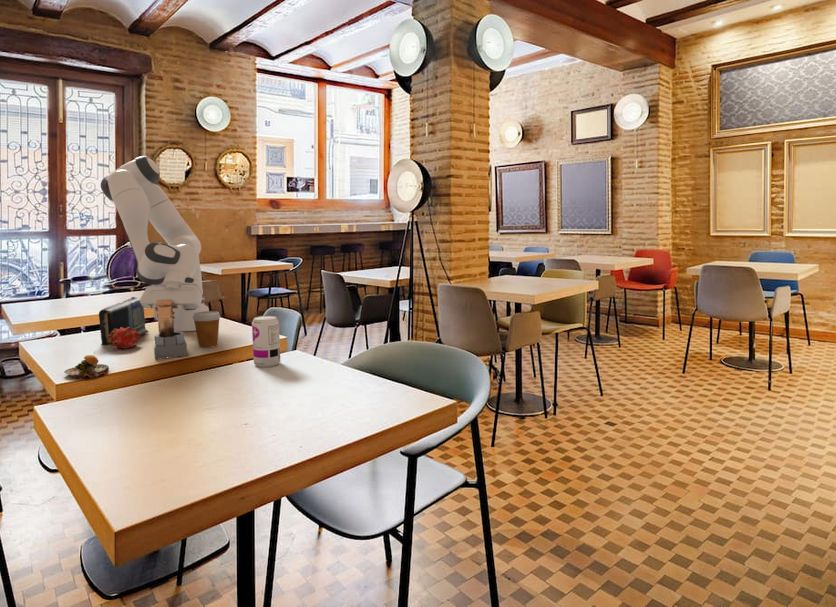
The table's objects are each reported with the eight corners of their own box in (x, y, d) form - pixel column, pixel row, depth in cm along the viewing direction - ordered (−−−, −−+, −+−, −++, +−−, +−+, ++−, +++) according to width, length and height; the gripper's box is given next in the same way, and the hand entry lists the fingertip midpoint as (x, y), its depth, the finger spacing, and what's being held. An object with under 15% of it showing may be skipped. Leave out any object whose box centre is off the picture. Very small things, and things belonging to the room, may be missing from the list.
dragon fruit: (105, 355, 207) (139, 354, 216) (115, 344, 203) (149, 343, 212) (100, 334, 210) (134, 333, 219) (109, 322, 205) (144, 322, 215)
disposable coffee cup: (226, 343, 218) (224, 311, 216) (215, 349, 209) (213, 315, 207) (201, 342, 219) (199, 310, 217) (189, 348, 210) (187, 315, 208)
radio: (109, 346, 214) (105, 306, 212) (89, 345, 216) (85, 305, 214) (153, 333, 236) (150, 296, 234) (135, 332, 239) (132, 296, 236)
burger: (80, 369, 184) (77, 346, 183) (117, 369, 184) (115, 346, 183) (55, 380, 172) (52, 355, 171) (95, 380, 172) (92, 355, 171)
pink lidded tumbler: (158, 334, 202) (155, 299, 200) (175, 333, 204) (172, 298, 202) (158, 337, 197) (155, 302, 195) (175, 336, 199) (173, 301, 197)
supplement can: (256, 368, 183) (253, 321, 180) (252, 362, 190) (249, 316, 188) (282, 365, 186) (280, 319, 183) (277, 360, 193) (275, 314, 191)
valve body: (187, 356, 199) (186, 335, 198) (155, 359, 195) (153, 338, 194) (184, 346, 213) (182, 327, 212) (153, 349, 209) (152, 330, 208)
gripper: (143, 279, 205) (130, 311, 197) (201, 279, 204) (190, 312, 196) (151, 290, 210) (138, 322, 202) (207, 290, 209) (197, 322, 201)
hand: (164, 317), depth 199 cm, fingers closed on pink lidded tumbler, 5 cm apart
